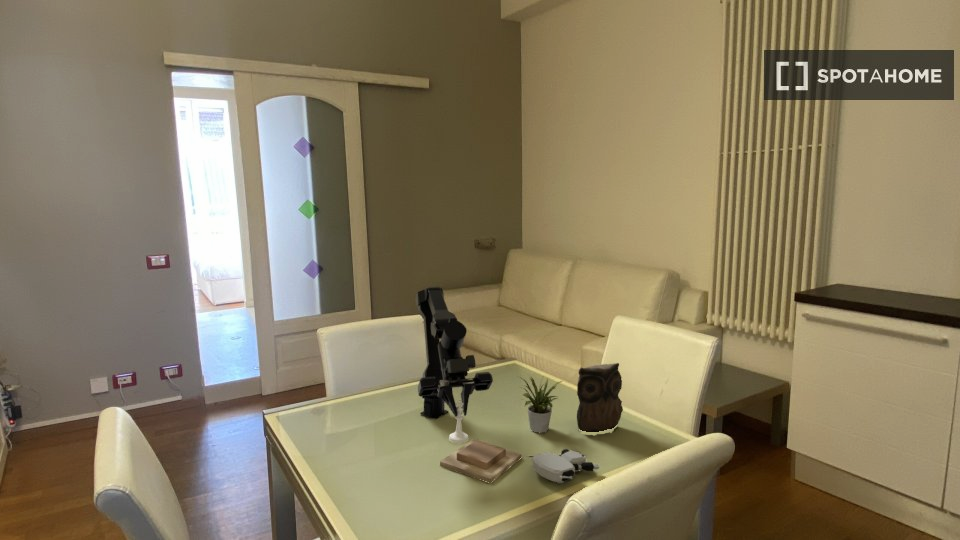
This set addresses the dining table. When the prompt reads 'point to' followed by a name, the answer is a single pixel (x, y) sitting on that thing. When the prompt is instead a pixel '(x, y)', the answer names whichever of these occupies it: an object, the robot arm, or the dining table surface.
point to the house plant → (539, 406)
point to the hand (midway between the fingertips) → (460, 415)
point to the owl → (599, 397)
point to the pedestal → (481, 460)
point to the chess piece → (459, 427)
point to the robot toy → (561, 465)
